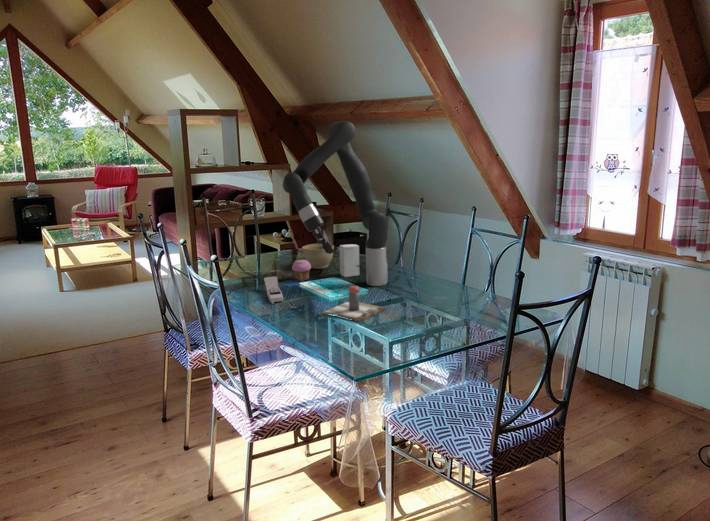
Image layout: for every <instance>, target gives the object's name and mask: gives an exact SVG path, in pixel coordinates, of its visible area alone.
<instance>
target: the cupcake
mask: <svg viewBox="0 0 710 521" xmlns="http://www.w3.org/2000/svg"><path fill="white" fill-rule="evenodd" d="M291 269H292V271H293V272H294V274H295V278H296V280H297V281H299V282H304V280H305V281H308V280H309V279H310V270H311V269H312V268H311V265H310V263H309V262H308V261H307V260H305V259H298V260H297V259H296V260H295V261H294V262H293V264H292V266H291Z"/></svg>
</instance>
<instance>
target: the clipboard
mask: <svg viewBox="0 0 710 521" xmlns="http://www.w3.org/2000/svg"><path fill="white" fill-rule="evenodd" d="M386 310H387V307H386V306H380V305H375V304H369V303H364V302H360V301H359V310H358V311H350V310H349V300H348V301H346V302H344V303H343V302H342V303H341V304H339V305H336V306H334V307H332V308H329V309H327V310H324V311H323V312H321V313H322V314H321V315H323V314H324V316H328V314H332V315H333V314H337V315H338V316H341V317H345V318H348V319H352V320H356V321H359V322H358V323H361V322H364V321H366V320H367V319H370V318H371V317H373V316H376V315H378V314H380V313H382V312H384V311H386ZM360 321H361V322H360Z"/></svg>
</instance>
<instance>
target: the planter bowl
mask: <svg viewBox="0 0 710 521" xmlns="http://www.w3.org/2000/svg"><path fill="white" fill-rule="evenodd" d="M330 245H331V247H332V249H333V250H334V247H335V245H333V244H331V243H330ZM301 247H302V249H301V250H302V253H303V257H304V260H307V261H308V262H309V263H310V265H311V269H315V270H316V269H319V270H320V269H326V268H328V267H329V264H330V263H331V261H332V259H333V256H334V252H333V253H331V254H329V253H326V252H325V250H324V248H323V246H322V245H321V244H320V243H311V244H306V245H304V246H301Z"/></svg>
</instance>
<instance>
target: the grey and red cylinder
mask: <svg viewBox="0 0 710 521" xmlns="http://www.w3.org/2000/svg"><path fill="white" fill-rule="evenodd" d="M348 301H349V310H350V311H358V310H359V302H360V287H359V286H358V285H351V286H350V285H349V286H348Z"/></svg>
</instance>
